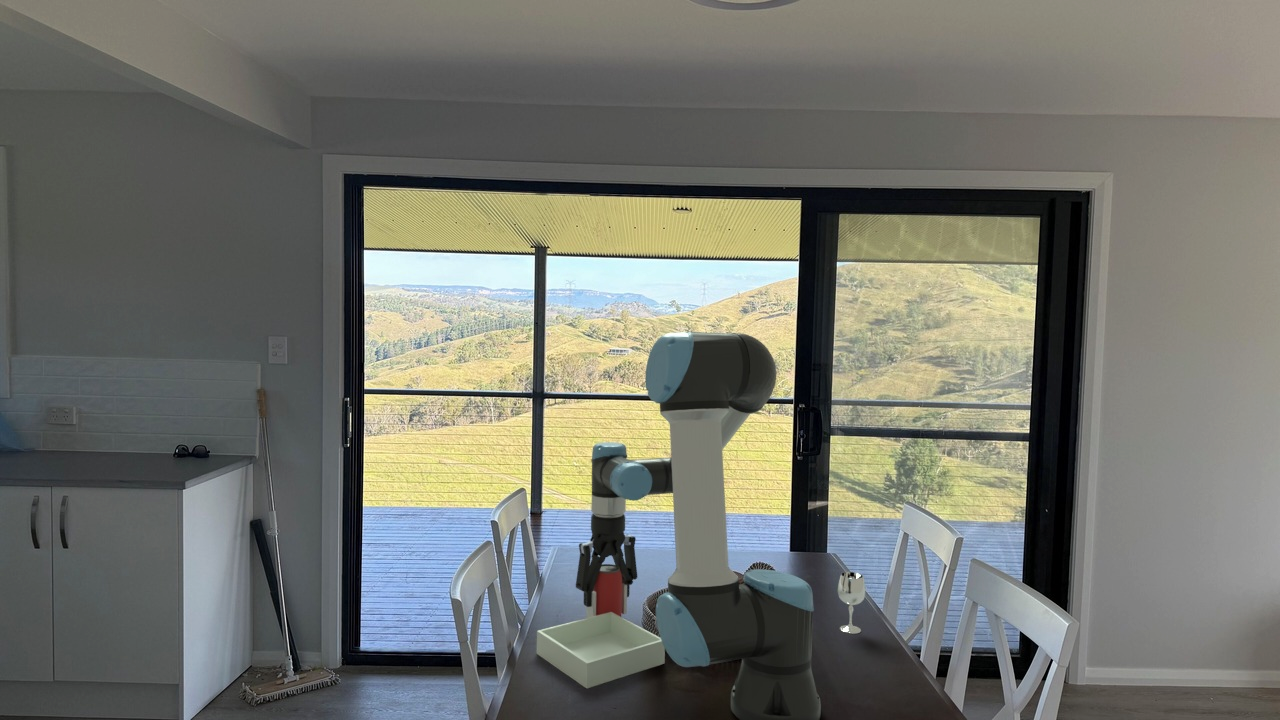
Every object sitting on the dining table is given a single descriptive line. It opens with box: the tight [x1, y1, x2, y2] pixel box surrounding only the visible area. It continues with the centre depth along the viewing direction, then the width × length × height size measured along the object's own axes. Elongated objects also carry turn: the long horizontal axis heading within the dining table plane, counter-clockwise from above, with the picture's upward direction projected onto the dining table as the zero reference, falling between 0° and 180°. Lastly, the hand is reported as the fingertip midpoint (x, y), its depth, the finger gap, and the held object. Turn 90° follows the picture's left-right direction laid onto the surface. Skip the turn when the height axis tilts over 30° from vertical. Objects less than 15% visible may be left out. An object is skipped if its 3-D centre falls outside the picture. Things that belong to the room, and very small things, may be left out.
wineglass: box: [837, 571, 866, 635], centre depth 168 cm, size 6×6×12 cm
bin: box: [536, 612, 666, 689], centre depth 151 cm, size 18×18×5 cm
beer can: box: [593, 563, 623, 617], centre depth 170 cm, size 7×7×12 cm
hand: (606, 616), depth 170 cm, fingers open, 8 cm apart
